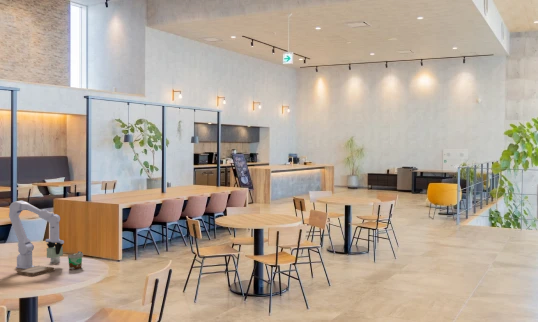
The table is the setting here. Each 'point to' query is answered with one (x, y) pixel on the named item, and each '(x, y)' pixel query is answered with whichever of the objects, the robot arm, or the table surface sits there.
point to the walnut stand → (35, 270)
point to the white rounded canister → (55, 259)
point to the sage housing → (54, 252)
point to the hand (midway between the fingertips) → (54, 253)
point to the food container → (75, 261)
